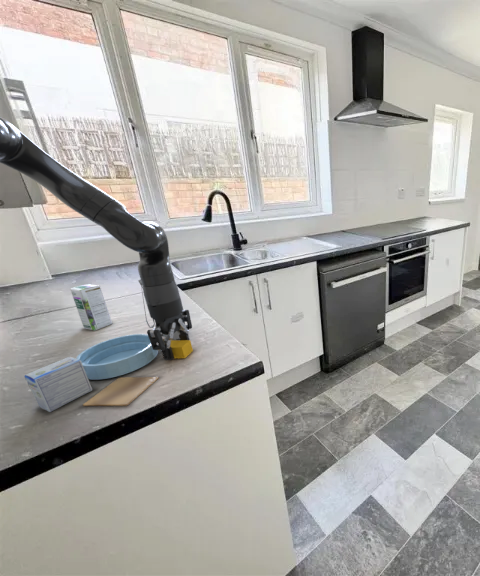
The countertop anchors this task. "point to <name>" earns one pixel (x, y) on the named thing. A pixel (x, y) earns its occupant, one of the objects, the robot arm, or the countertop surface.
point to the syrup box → (91, 306)
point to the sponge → (181, 348)
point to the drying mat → (121, 391)
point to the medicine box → (58, 383)
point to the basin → (117, 356)
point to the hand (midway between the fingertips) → (178, 352)
